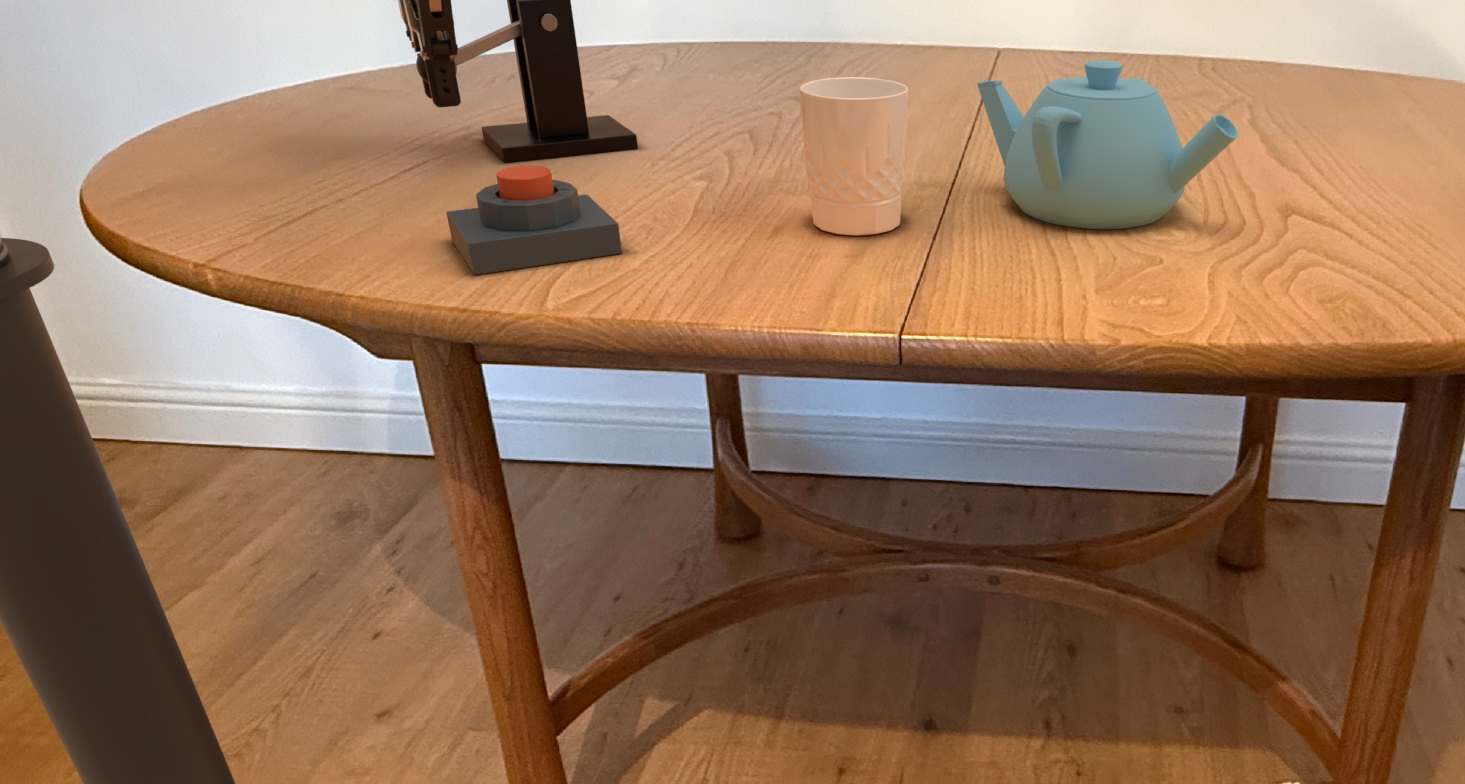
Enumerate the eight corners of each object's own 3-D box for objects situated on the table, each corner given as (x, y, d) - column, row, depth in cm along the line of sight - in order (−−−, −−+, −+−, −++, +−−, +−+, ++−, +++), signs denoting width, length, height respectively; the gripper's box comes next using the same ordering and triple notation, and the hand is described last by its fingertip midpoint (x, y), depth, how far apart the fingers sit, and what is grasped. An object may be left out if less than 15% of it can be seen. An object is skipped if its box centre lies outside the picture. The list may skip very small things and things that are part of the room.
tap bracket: (504, 163, 101) (476, 5, 94) (483, 140, 107) (455, -8, 101) (638, 148, 106) (620, -1, 99) (610, 128, 113) (592, -14, 106)
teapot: (1042, 248, 84) (1053, 88, 78) (971, 186, 98) (975, 46, 92) (1229, 234, 88) (1253, 81, 82) (1135, 176, 102) (1149, 42, 96)
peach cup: (835, 203, 92) (831, 73, 87) (924, 216, 90) (925, 83, 85) (786, 229, 86) (779, 91, 81) (881, 244, 84) (879, 102, 78)
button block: (474, 275, 76) (462, 216, 74) (452, 241, 82) (440, 185, 80) (622, 253, 81) (615, 197, 79) (591, 222, 86) (583, 169, 84)
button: (507, 207, 77) (502, 181, 76) (495, 193, 80) (491, 168, 79) (560, 200, 79) (556, 175, 78) (547, 187, 82) (543, 162, 81)
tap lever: (433, 95, 98) (411, 59, 96) (426, 88, 100) (405, 53, 98) (568, 31, 101) (550, -5, 99) (559, 26, 103) (541, -10, 101)
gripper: (337, -128, 95) (385, 90, 103) (358, -119, 84) (410, 122, 93) (433, -127, 98) (472, 83, 107) (465, -119, 88) (505, 113, 96)
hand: (443, 100), depth 100 cm, fingers closed on tap lever, 3 cm apart
